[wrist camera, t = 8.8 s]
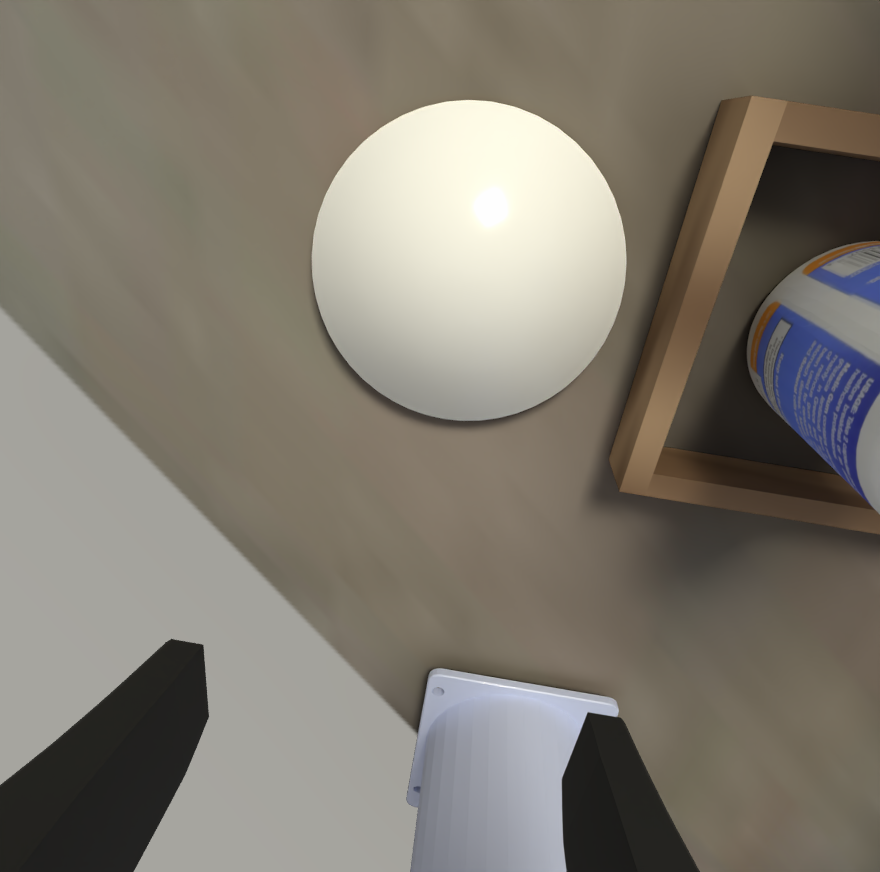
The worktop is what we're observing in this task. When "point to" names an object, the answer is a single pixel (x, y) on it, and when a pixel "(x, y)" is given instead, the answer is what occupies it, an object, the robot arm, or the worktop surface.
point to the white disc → (469, 260)
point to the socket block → (688, 311)
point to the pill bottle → (826, 359)
